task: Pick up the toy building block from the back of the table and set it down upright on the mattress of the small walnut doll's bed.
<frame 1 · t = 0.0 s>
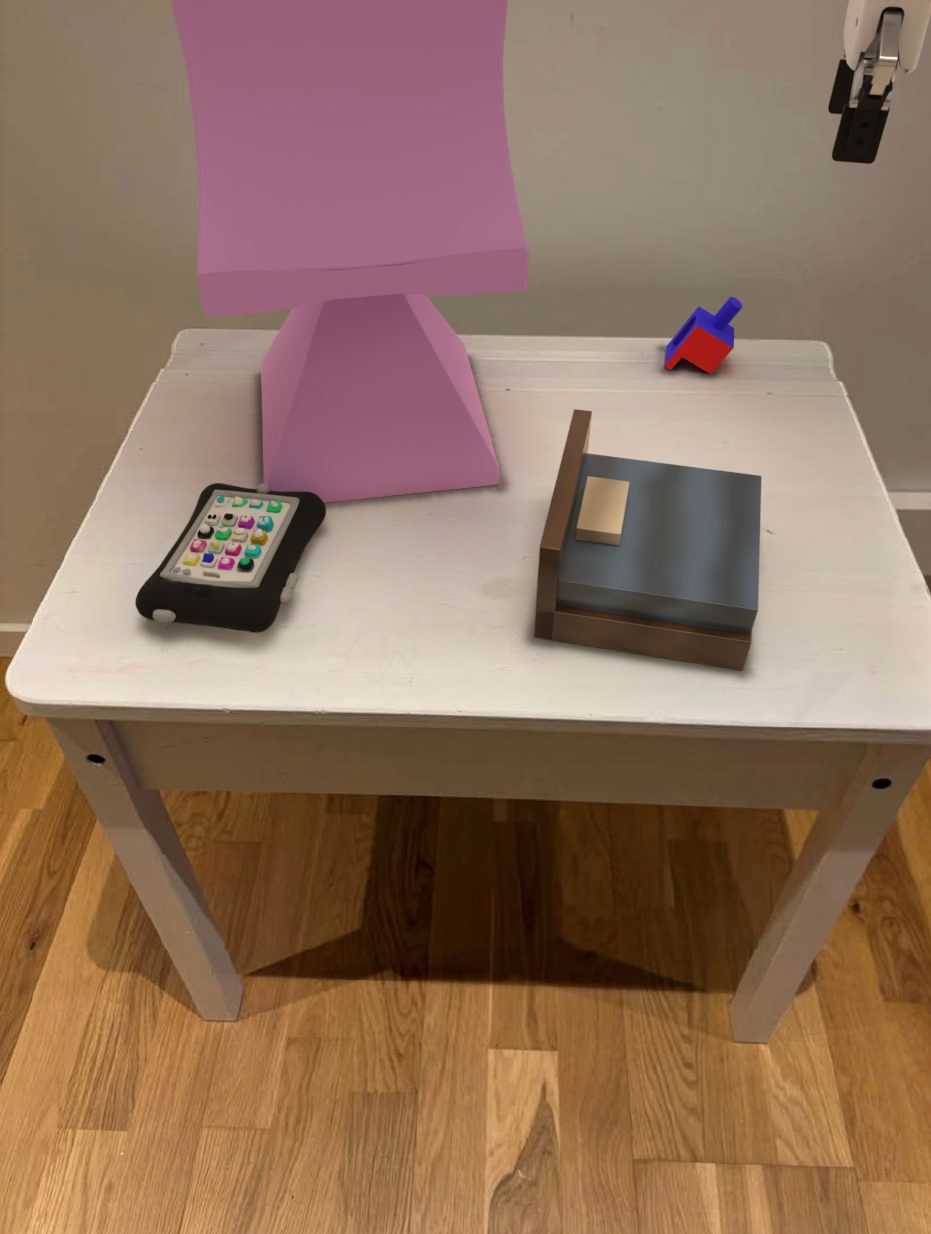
hand: (849, 136, 80), 22 cm above the table, tool pointing down, fingers open, 9 cm apart
doll bed: (646, 577, 76), on the table
toy building block: (696, 364, 97), on the table
pink table lamp: (374, 429, 90), on the table
phone: (240, 573, 77), on the table
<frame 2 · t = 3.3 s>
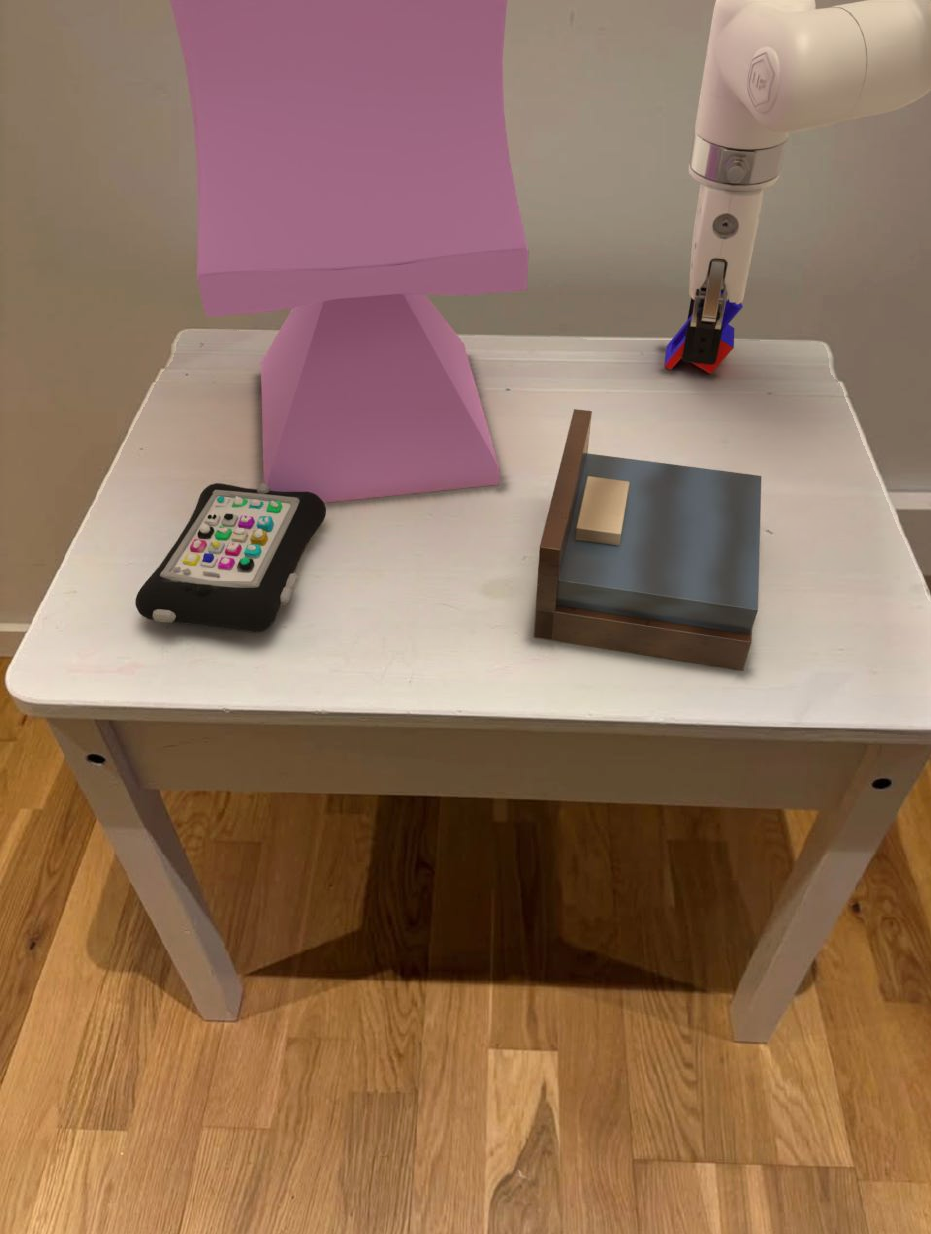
hand: (700, 347, 95), 2 cm above the table, tool pointing down, fingers closed on toy building block, 3 cm apart
toy building block: (696, 364, 97), on the table, touching gripper
everything else where it was.
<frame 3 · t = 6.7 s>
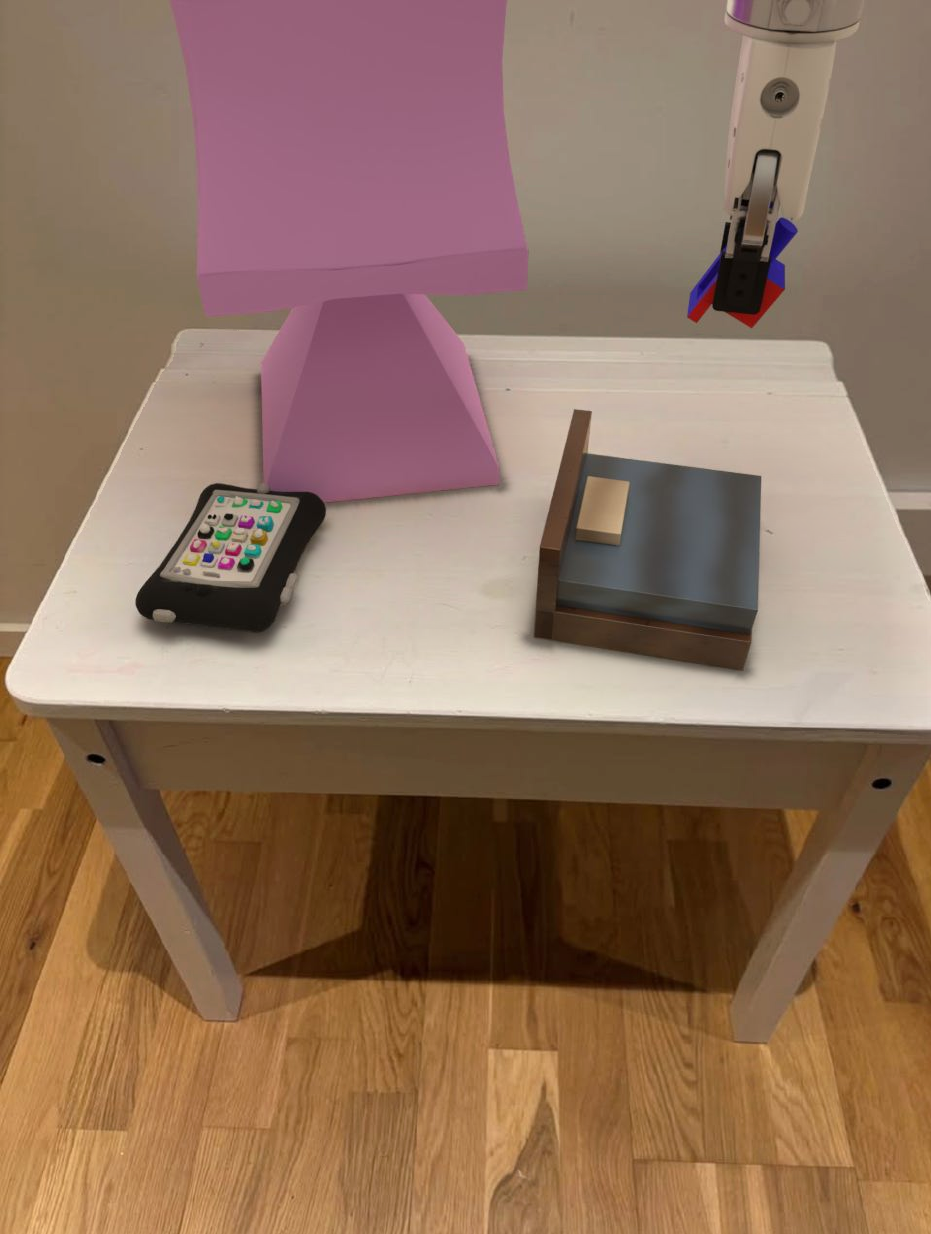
hand: (737, 292, 69), 19 cm above the table, tool pointing down, fingers closed on toy building block, 3 cm apart
toy building block: (732, 316, 70), point 17 cm above the table, touching gripper
everything else where it was.
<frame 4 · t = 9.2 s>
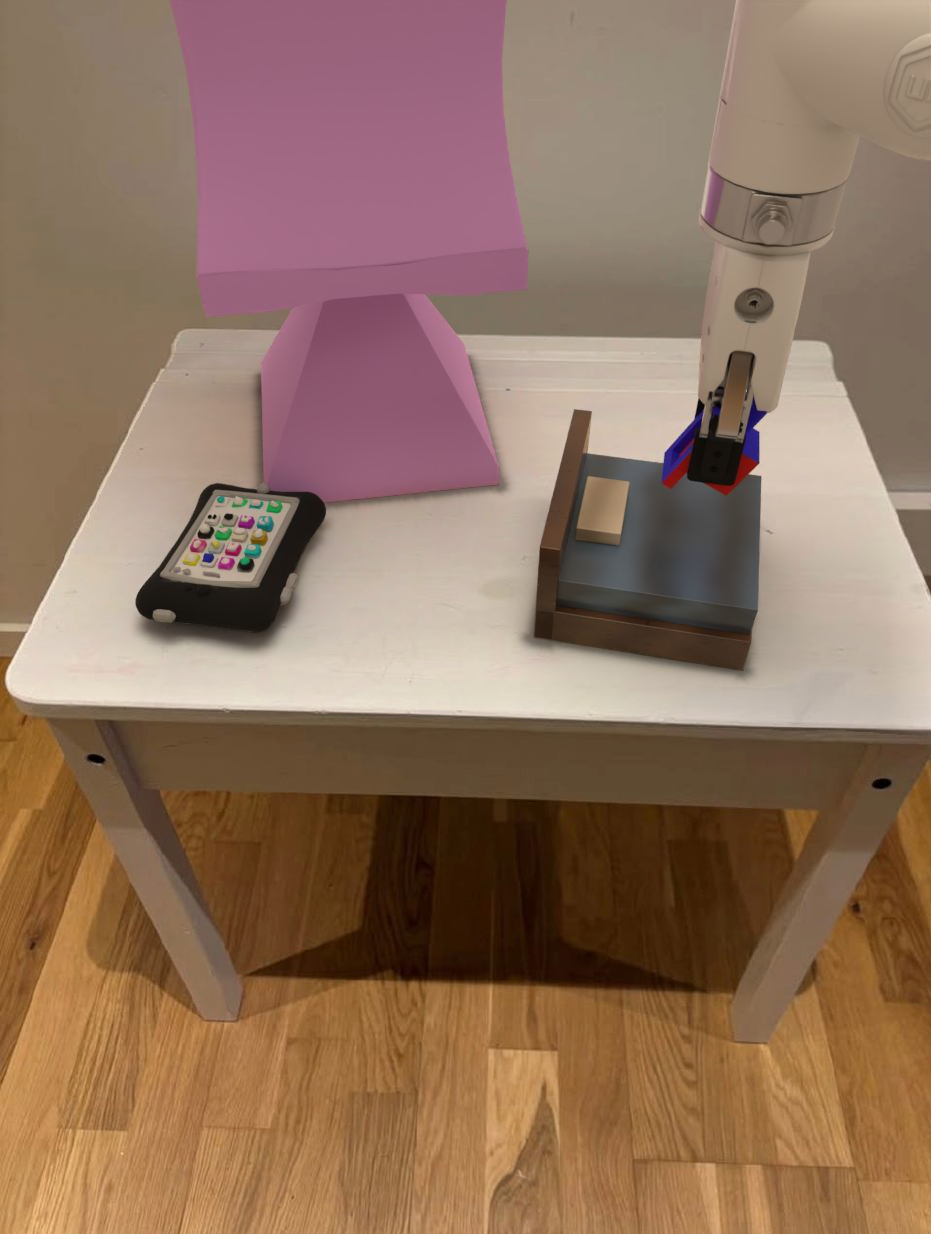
hand: (712, 459, 68), 11 cm above the table, tool pointing down, fingers closed on toy building block, 3 cm apart
toy building block: (706, 479, 70), point 9 cm above the table, touching gripper
everything else where it was.
when the fingers open (7 cm above the table, at t = 10.5 s): toy building block stays where it is, resting on doll bed.
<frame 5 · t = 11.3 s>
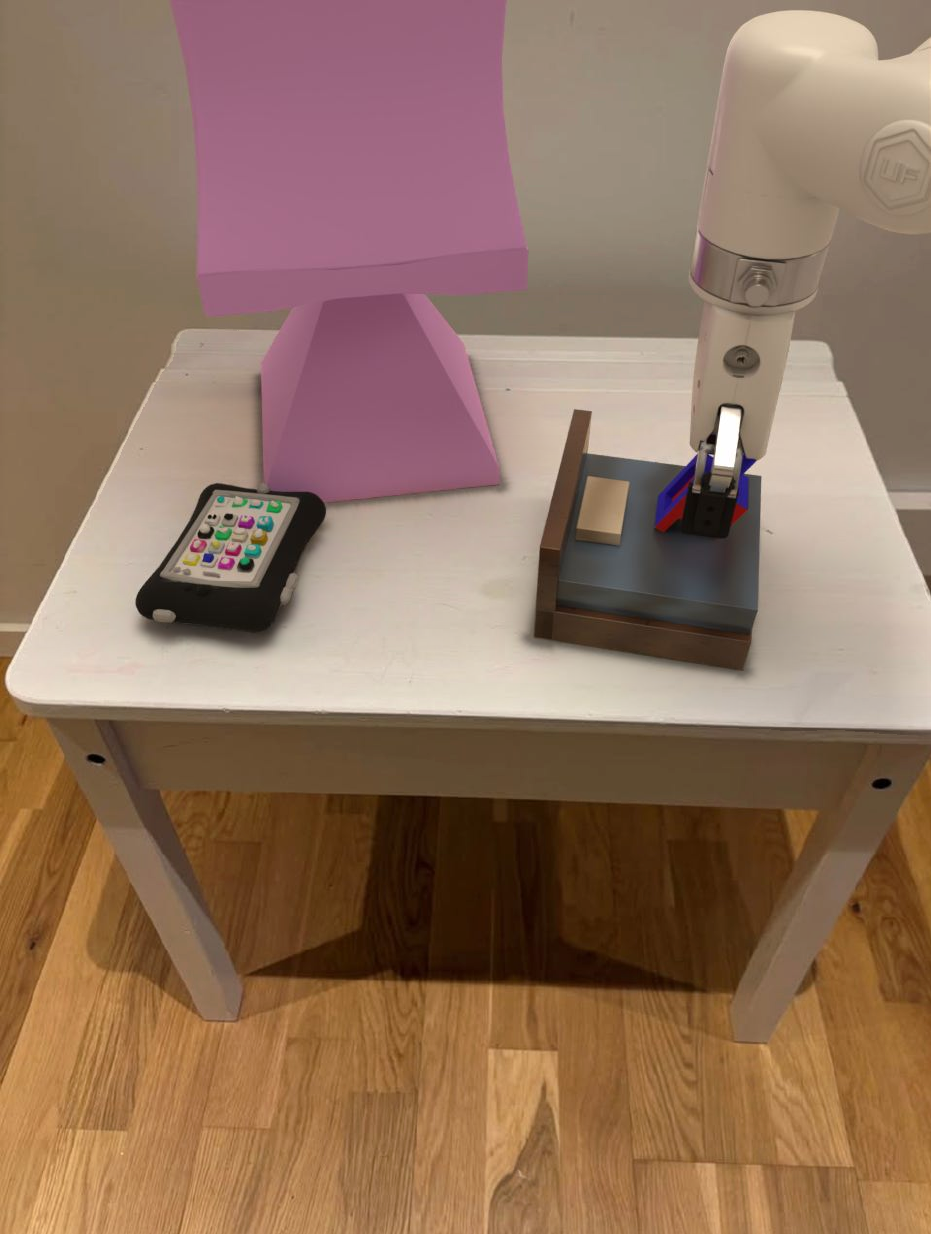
hand: (707, 488, 70), 9 cm above the table, tool pointing down, fingers open, 9 cm apart
toy building block: (698, 523, 73), point 5 cm above the table, touching doll bed
everything else where it was.
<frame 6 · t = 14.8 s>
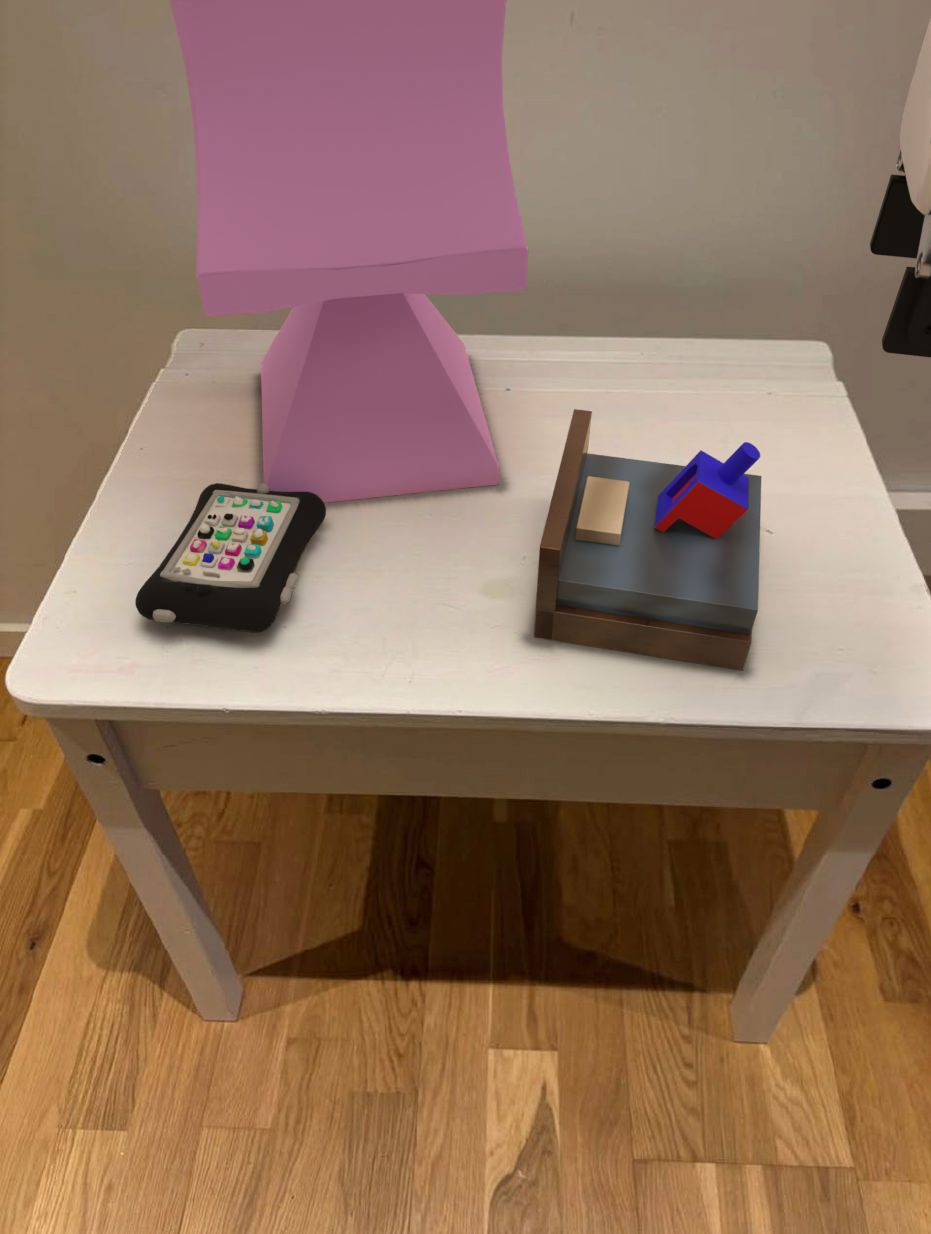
hand: (907, 300, 50), 28 cm above the table, tool pointing down, fingers open, 9 cm apart
nothing on the table moved.
at the end: toy building block inside the target area on the doll bed (2.5 cm from its centre), point 5.3 cm above the doll bed's base; toy building block tilted 0°; the gripper is holding nothing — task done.
